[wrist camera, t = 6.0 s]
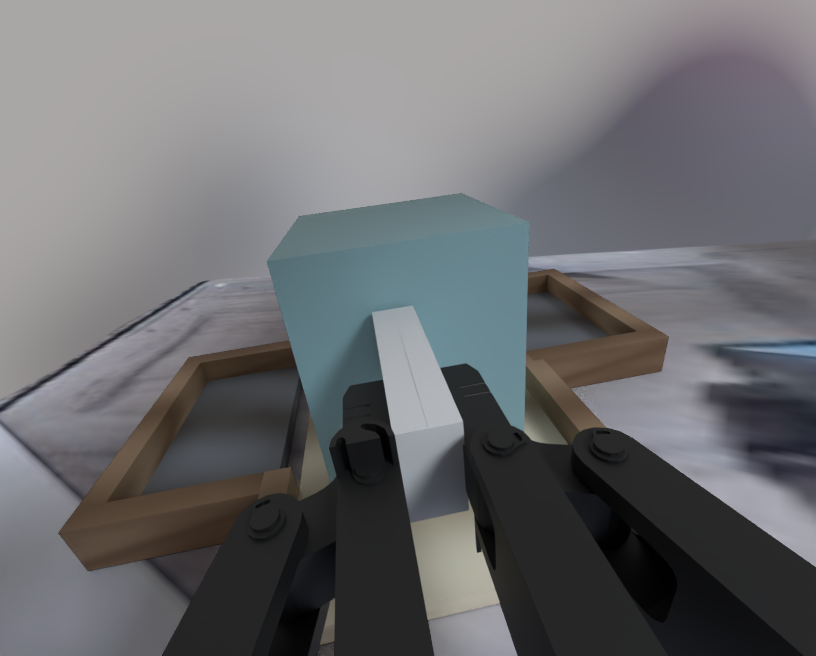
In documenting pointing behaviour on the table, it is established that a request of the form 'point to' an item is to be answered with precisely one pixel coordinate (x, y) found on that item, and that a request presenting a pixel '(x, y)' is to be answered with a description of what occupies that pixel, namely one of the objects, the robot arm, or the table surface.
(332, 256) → the teal block
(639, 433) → the table surface
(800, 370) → the table surface
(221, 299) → the table surface
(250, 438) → the trap lane
